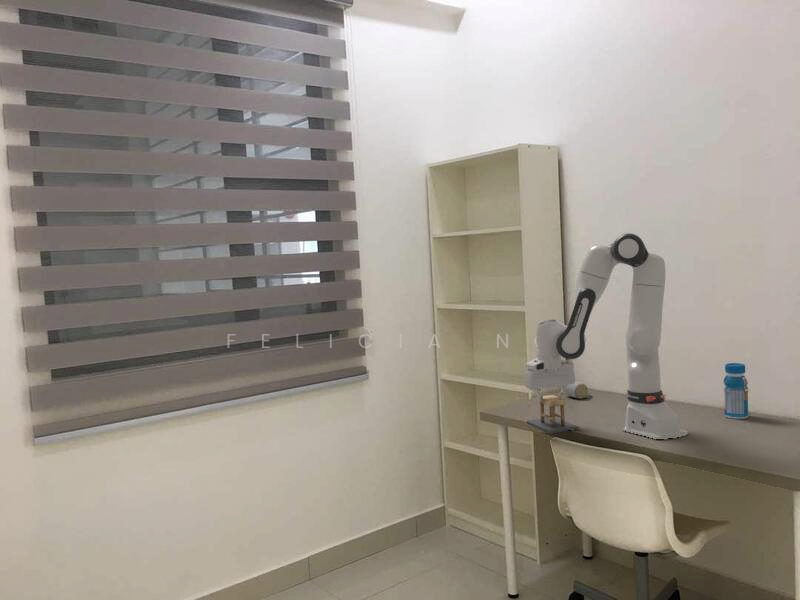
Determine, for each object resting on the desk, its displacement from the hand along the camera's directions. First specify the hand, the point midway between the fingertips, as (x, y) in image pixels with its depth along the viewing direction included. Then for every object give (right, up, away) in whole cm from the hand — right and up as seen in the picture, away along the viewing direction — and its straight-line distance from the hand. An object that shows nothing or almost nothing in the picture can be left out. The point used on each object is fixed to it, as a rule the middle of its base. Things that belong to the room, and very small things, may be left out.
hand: (551, 398), depth 246 cm
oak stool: (+1, -10, +1) cm, 10 cm away
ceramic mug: (+23, -7, +45) cm, 51 cm away
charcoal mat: (+1, -11, +1) cm, 11 cm away
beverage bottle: (+70, -7, -2) cm, 70 cm away
